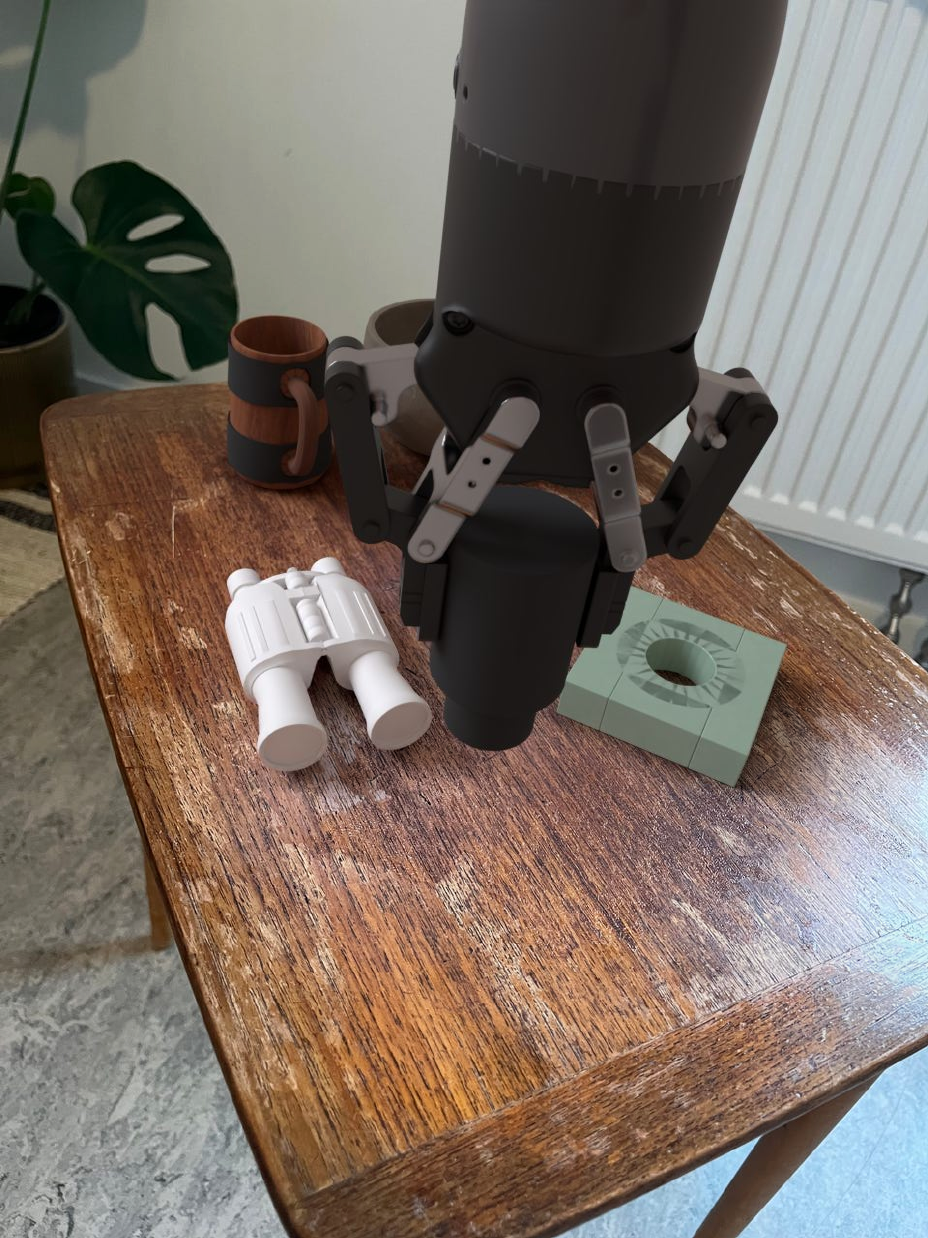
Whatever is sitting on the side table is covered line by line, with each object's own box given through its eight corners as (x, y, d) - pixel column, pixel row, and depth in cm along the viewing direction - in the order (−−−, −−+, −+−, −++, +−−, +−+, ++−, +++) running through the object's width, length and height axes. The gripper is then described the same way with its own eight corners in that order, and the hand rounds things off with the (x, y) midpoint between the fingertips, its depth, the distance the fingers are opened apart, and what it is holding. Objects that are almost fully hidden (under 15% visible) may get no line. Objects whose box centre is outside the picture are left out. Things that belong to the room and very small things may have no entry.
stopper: (572, 702, 39) (621, 516, 33) (523, 788, 36) (568, 594, 30) (458, 655, 41) (485, 468, 35) (399, 733, 37) (419, 538, 31)
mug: (258, 523, 75) (255, 386, 67) (215, 446, 83) (208, 316, 75) (361, 505, 78) (368, 373, 71) (310, 433, 86) (312, 307, 79)
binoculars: (260, 783, 56) (258, 727, 53) (210, 610, 67) (206, 555, 64) (430, 747, 59) (437, 693, 56) (356, 588, 70) (359, 536, 67)
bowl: (470, 376, 99) (482, 280, 92) (583, 459, 89) (605, 357, 82) (321, 408, 90) (324, 305, 84) (428, 504, 80) (440, 394, 73)
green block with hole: (773, 675, 68) (787, 644, 66) (734, 788, 60) (748, 755, 58) (615, 614, 71) (624, 582, 70) (556, 713, 63) (564, 679, 61)
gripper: (308, 135, 21) (301, 698, 31) (931, 200, 22) (721, 709, 33) (320, 60, 26) (311, 559, 37) (817, 118, 28) (669, 576, 39)
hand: (505, 628), depth 35 cm, fingers closed on stopper, 5 cm apart
